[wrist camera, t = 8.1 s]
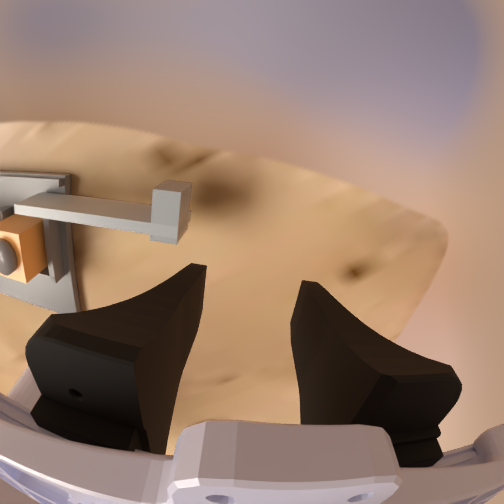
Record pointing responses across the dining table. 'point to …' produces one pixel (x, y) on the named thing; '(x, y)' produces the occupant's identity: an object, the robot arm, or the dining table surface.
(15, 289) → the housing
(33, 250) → the block
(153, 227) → the cover bar
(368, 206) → the dining table surface
